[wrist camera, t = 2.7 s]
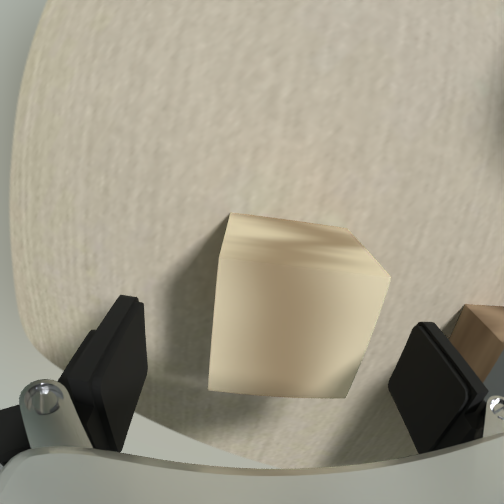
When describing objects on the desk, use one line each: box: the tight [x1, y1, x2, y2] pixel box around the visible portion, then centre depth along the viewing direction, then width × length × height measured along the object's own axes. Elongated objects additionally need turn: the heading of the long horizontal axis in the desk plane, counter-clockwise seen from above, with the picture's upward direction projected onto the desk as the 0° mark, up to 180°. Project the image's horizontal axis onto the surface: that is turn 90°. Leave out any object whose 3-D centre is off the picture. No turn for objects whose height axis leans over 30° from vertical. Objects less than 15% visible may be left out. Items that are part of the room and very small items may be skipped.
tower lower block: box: [449, 304, 504, 383], centre depth 16 cm, size 10×10×5 cm
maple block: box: [208, 213, 391, 398], centre depth 13 cm, size 6×6×6 cm
